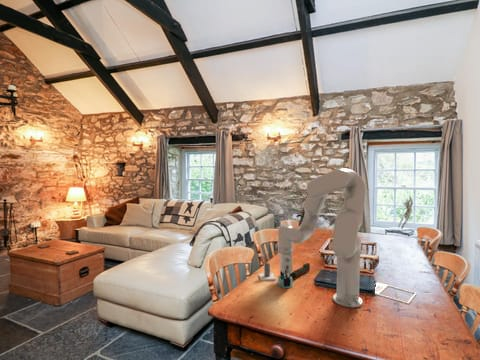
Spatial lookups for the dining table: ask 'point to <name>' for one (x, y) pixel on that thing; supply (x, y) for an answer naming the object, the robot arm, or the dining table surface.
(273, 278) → the grey peg on base
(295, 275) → the dark brown bar
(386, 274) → the dining table surface
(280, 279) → the collar
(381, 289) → the photo frame
